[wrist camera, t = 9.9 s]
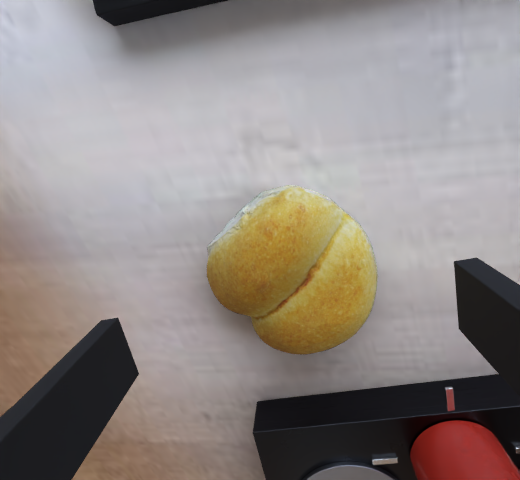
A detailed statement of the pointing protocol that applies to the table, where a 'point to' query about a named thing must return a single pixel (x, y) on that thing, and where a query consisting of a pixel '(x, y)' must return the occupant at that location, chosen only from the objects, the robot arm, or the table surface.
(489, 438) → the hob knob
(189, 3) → the remote control
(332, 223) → the bread roll
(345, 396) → the hob
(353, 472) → the burner rings
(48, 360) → the table surface
